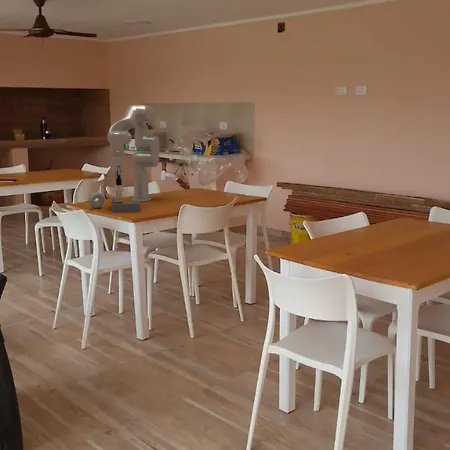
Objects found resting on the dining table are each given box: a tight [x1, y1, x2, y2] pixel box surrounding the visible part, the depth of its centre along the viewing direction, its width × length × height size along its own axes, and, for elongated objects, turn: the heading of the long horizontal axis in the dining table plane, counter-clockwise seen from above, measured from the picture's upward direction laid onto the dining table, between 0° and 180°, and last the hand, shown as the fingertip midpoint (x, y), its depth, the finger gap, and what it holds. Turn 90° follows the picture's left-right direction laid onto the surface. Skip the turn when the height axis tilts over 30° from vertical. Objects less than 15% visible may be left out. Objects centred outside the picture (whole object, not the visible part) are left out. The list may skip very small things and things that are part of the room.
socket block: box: [110, 199, 141, 214], centre depth 366 cm, size 11×16×6 cm
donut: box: [88, 191, 105, 209], centre depth 372 cm, size 10×4×10 cm, turn 128°
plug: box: [113, 176, 125, 201], centre depth 363 cm, size 6×6×13 cm
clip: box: [105, 192, 116, 201], centre depth 372 cm, size 2×15×2 cm, turn 22°
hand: (118, 184), depth 363 cm, fingers closed on plug, 3 cm apart
